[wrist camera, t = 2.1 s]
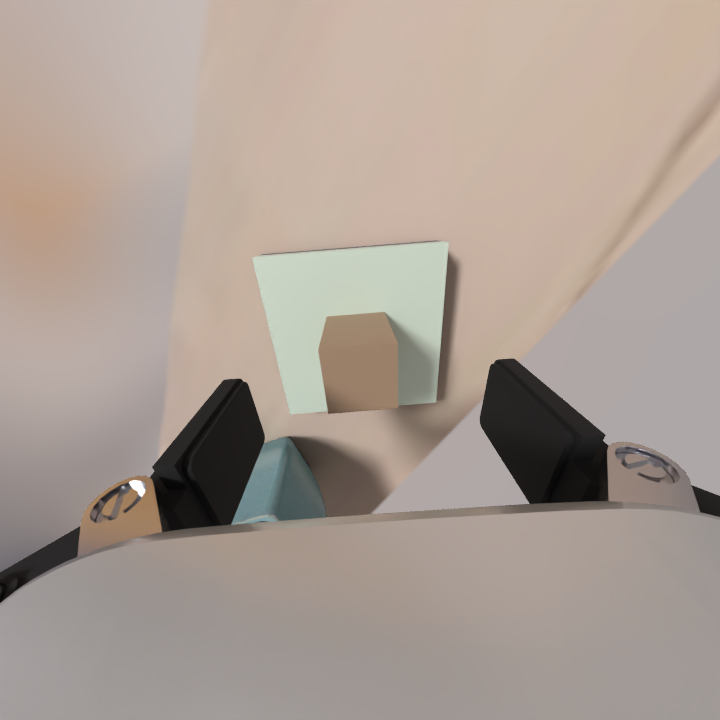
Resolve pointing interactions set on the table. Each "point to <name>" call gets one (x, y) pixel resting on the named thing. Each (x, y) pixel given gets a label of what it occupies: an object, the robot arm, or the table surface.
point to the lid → (356, 324)
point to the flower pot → (280, 487)
